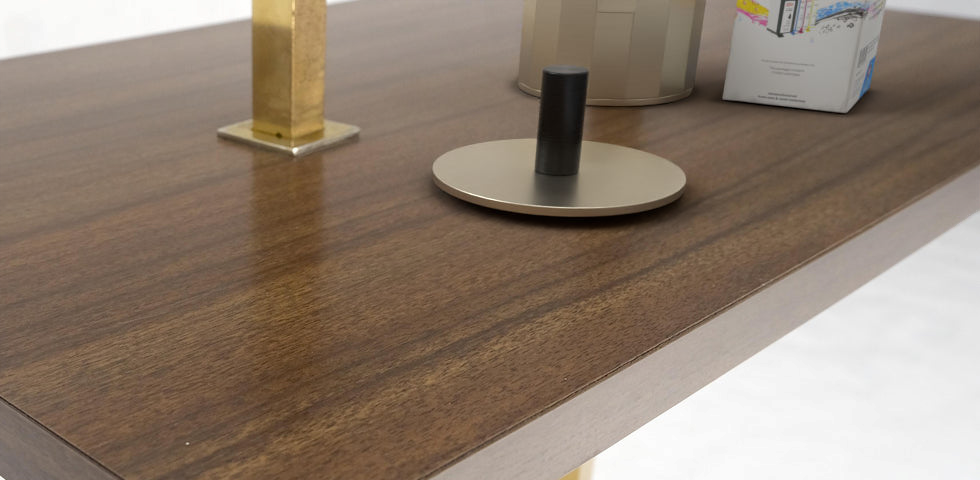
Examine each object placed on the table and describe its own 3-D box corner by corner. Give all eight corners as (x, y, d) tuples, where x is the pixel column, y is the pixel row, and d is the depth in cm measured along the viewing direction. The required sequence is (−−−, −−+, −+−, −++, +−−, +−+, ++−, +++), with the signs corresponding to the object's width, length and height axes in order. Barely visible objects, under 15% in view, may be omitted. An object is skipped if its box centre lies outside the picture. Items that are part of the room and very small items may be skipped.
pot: (682, 66, 94) (697, -45, 91) (702, 118, 78) (721, -13, 75) (523, 61, 97) (531, -46, 94) (511, 111, 81) (521, -16, 78)
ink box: (750, 79, 89) (776, -84, 84) (871, 91, 85) (905, -80, 80) (717, 100, 83) (743, -74, 78) (846, 115, 79) (882, -69, 74)
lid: (674, 161, 69) (690, 48, 66) (693, 236, 57) (713, 102, 55) (444, 151, 72) (450, 42, 70) (417, 219, 60) (422, 92, 58)
